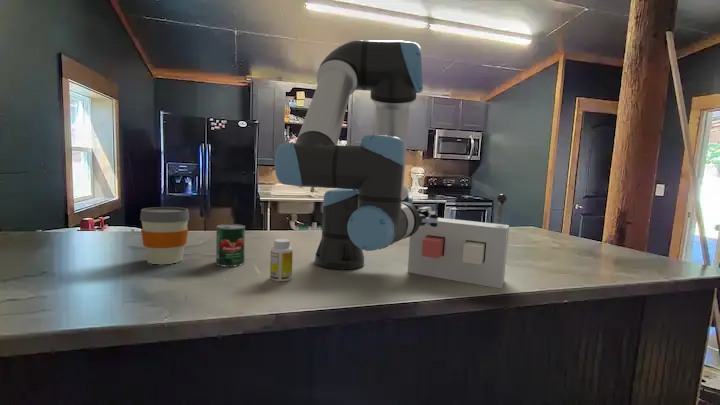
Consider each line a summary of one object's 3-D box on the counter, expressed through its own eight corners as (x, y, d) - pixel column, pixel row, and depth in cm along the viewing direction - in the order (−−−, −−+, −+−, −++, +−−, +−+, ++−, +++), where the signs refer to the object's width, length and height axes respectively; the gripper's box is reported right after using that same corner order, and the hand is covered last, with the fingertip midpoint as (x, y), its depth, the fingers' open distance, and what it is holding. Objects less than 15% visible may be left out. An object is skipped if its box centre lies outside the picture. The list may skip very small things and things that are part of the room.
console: (407, 272, 113) (411, 218, 112) (415, 266, 120) (419, 215, 119) (501, 288, 102) (506, 228, 101) (504, 280, 109) (509, 225, 108)
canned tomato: (233, 258, 118) (234, 223, 117) (250, 263, 114) (250, 226, 113) (210, 263, 112) (210, 225, 111) (226, 268, 107) (227, 229, 106)
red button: (421, 255, 106) (422, 239, 105) (427, 251, 111) (428, 236, 111) (438, 258, 104) (439, 241, 103) (443, 254, 109) (444, 238, 109)
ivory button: (462, 261, 101) (463, 244, 101) (466, 257, 107) (467, 241, 106) (480, 264, 99) (482, 247, 99) (483, 259, 105) (485, 243, 104)
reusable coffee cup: (159, 254, 118) (159, 205, 117) (197, 257, 117) (198, 208, 115) (129, 264, 106) (129, 210, 105) (171, 268, 104) (172, 213, 103)
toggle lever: (493, 221, 105) (497, 192, 107) (493, 224, 107) (497, 195, 110) (503, 222, 104) (507, 193, 106) (503, 225, 106) (507, 196, 109)
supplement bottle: (293, 276, 103) (294, 238, 102) (289, 282, 98) (290, 243, 97) (272, 275, 103) (273, 237, 102) (267, 281, 98) (268, 241, 97)
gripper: (365, 235, 80) (402, 224, 101) (427, 244, 74) (452, 229, 95) (367, 199, 79) (404, 195, 100) (430, 205, 74) (455, 199, 95)
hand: (428, 212), depth 98 cm, fingers closed
